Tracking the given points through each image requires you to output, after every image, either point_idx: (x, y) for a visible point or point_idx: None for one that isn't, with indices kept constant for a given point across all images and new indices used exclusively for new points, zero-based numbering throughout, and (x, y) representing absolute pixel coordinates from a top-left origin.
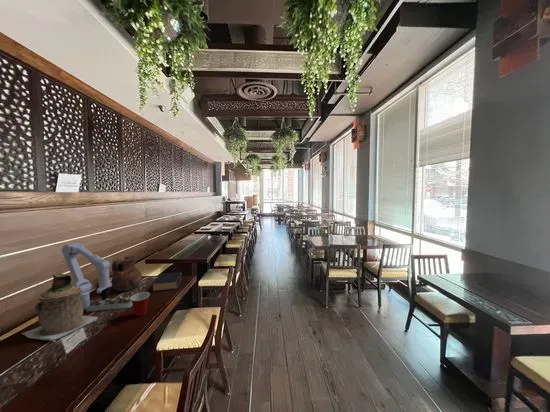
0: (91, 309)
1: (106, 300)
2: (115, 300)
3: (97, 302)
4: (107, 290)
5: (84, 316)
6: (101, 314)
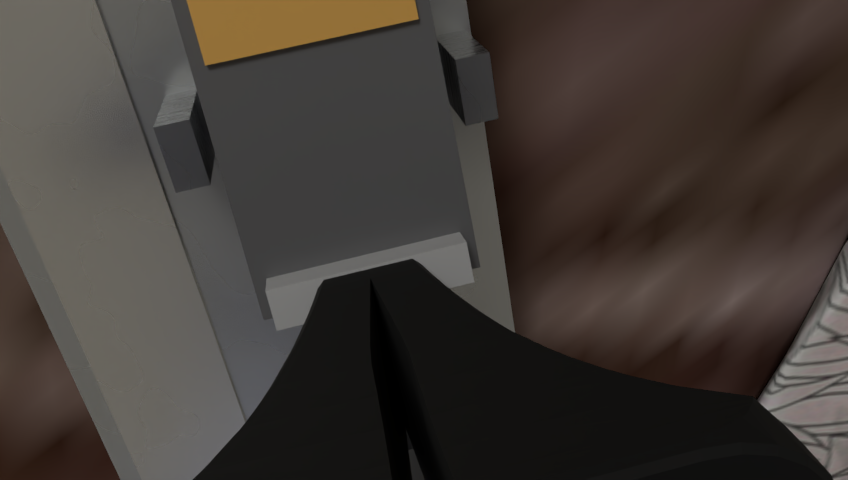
0: None
1: (464, 202)
2: (80, 18)
3: None
4: (763, 432)
5: (840, 317)
6: (713, 15)
